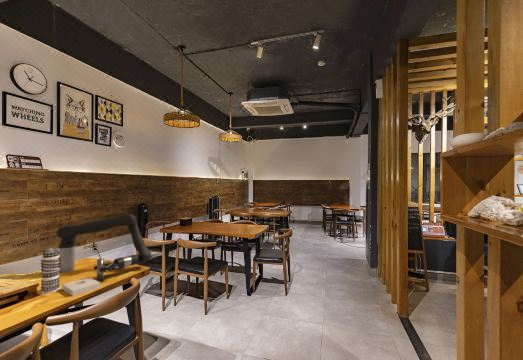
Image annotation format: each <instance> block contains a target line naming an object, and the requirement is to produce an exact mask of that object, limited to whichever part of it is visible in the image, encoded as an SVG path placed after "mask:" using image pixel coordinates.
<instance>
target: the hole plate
mask: <svg viewBox="0 0 523 360" xmlns="http://www.w3.org/2000/svg"><path fill="white" fill-rule="evenodd" d="M99 288H101V281H100V282H98V281H97V279H93V278H91V277H90V276H89V277H88V276H87V277H85V278H80V279H77V280H74V281H70V282H67V283H66V282H65V283H63V284H62V285H61V290H63V291H65V293H67V294H68V295H70V296H72V297H74V296H78V295H80V294H83V293H87V292H90V291H93V290H96V289H99Z"/></svg>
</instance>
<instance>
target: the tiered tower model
mask: <svg viewBox="0 0 523 360" xmlns="http://www.w3.org/2000/svg"><path fill="white" fill-rule="evenodd" d="M41 253H42V258H41V259H40V268H41V269H40V270H41V274H42V277H41V281H40V282H41V283H40V284H41V286H40V291H41V294H45V295H46V294H51V293H55V292H58V291H59V290H60V287H61V285H60V284H61V283H60V280H61V277H60V272H59V270H60V268H59V267H60V265H59V264H61V263H60V262H59V261H61V259H60V258H61V257H60V255H59V247H48V248H45V249H44V250H43V251H42V252H41Z"/></svg>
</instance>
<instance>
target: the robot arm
mask: <svg viewBox="0 0 523 360" xmlns="http://www.w3.org/2000/svg"><path fill="white" fill-rule="evenodd" d="M123 226H125V227H127V229H128V230H129V232H130V235H131V240H132V243H133V246H134V248H135V251H136V252H139V253H140V254H131V255H127V256H122V257H118V258H115V259H113V261H105V262H104V265H103V268H100V269H99V272H103V273H104V272H111V271H115V270H116V271H118V270H121V269H124V268H127V267H128V268H129V267H131V266H135V265H139V264H140V265H141V264H144V263H146V262H147V261H149V260H150V259H151V258H152V253H151V251H150V249H149V248H148V247H147V246H146V244H145V241H144V239H143V237H142V235H141V232H140V229H139V226H138V221H137V218H136V216H135V215H133V214H132V213H126V214H121V215H118V216H114V217H107V218H100V219H95V220H90V221H87V222H84V223H81V224H75V225H73V224H65V225H64V226H61V227H59V228H58V229H57V230H56V236H57V237H58V238H60V239H61V241H60V242H59V244H58V249H59V255H60V257H61V258H60V259H61V261H59V262H60V263H61V264H59V265H60V267H59V268H60V270H59V273H67V272H71V271H74V270H75V253H76V251H75V249H76V245H75V244H76V241H77V236H79V235H86V234H87V235H88V234H94V233H100V232H105V231H107V230H110V229H112V228H115V227H123ZM93 270H96V271H97V265H94V266H93Z"/></svg>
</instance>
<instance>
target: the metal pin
mask: <svg viewBox="0 0 523 360" xmlns="http://www.w3.org/2000/svg"><path fill="white" fill-rule="evenodd" d="M96 260H97V261H96V262H97V263H96V266H97V269H96V281H98V282H100V283H101V282H102V281H104V271H103V272H99V269H100V268H103V265H104V263H105V262H104V258H97V259H96Z"/></svg>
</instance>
